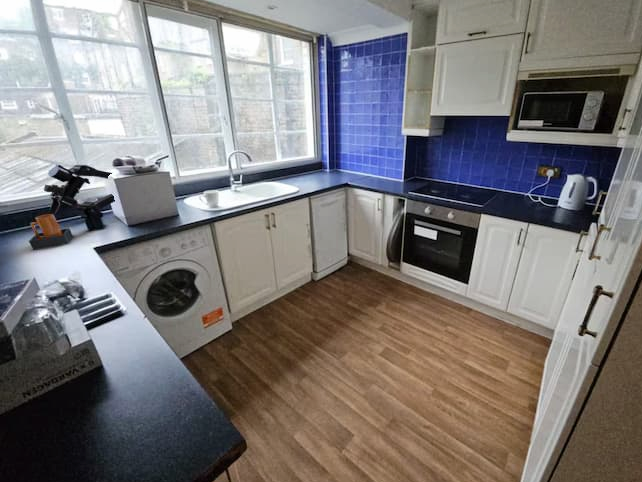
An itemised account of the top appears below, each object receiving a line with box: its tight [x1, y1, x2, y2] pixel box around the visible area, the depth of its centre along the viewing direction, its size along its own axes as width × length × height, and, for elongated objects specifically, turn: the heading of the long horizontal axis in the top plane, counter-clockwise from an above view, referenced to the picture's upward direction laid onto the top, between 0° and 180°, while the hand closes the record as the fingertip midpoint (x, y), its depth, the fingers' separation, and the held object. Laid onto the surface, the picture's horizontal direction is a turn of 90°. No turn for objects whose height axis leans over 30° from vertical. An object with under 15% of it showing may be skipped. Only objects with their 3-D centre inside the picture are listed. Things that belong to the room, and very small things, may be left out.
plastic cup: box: [75, 197, 99, 208], centre depth 174 cm, size 11×11×12 cm
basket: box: [28, 227, 74, 251], centre depth 144 cm, size 12×11×5 cm
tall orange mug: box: [29, 213, 63, 239], centre depth 141 cm, size 9×6×13 cm
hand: (53, 213), depth 146 cm, fingers open, 9 cm apart
